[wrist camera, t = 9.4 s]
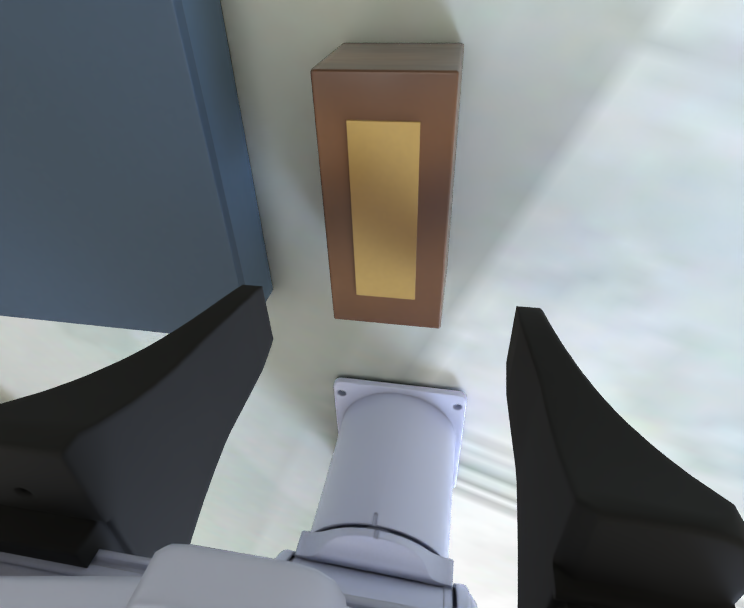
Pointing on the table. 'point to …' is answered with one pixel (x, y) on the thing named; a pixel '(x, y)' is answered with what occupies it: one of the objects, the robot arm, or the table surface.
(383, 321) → the plaque
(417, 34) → the table surface
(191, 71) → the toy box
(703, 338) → the table surface
